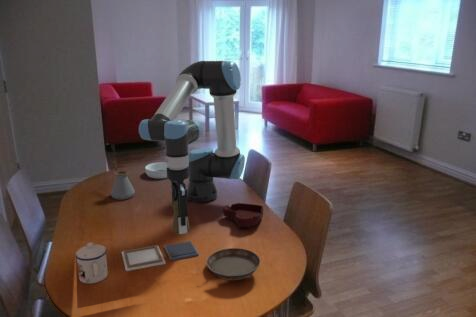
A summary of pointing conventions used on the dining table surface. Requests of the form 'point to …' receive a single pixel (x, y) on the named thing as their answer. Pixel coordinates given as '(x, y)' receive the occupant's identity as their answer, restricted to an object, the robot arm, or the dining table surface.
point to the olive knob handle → (175, 220)
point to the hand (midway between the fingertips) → (180, 229)
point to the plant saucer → (233, 263)
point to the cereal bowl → (156, 170)
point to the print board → (142, 258)
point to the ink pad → (181, 250)
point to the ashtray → (244, 214)
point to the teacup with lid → (92, 263)
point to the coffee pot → (121, 185)
